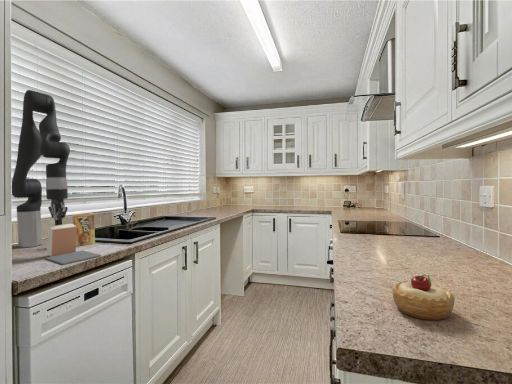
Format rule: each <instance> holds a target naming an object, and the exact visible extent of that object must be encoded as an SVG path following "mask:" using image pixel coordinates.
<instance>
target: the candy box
mask: <svg viewBox="0 0 512 384" xmlns="http://www.w3.org/2000/svg"><path fill="white" fill-rule="evenodd" d="M72 224H73V225H75V226H77V237H76V247H79V246H86V245H88V246H89V245H95V244H96V236H95V235H96V234H95V233H96V232H95V213H92V212H91V213H79V214H77V213H76V214H72Z"/></svg>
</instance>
